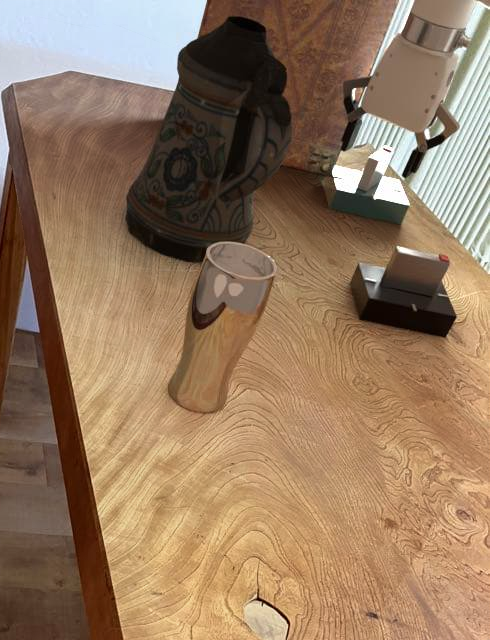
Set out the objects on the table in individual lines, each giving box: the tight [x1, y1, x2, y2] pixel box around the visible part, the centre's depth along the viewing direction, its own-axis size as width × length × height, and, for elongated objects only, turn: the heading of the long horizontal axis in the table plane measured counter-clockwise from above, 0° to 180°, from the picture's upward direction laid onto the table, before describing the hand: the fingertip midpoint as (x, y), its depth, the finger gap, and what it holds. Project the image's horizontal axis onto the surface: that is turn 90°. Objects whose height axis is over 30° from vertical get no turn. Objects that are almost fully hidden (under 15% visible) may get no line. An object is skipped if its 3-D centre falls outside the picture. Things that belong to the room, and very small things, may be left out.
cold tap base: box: [321, 165, 411, 225], centre depth 133 cm, size 11×11×3 cm
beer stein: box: [125, 16, 292, 264], centre depth 107 cm, size 16×19×25 cm
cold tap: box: [357, 145, 395, 191], centre depth 130 cm, size 6×2×5 cm, turn 146°
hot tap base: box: [349, 262, 458, 339], centre depth 110 cm, size 11×11×3 cm
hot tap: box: [381, 245, 451, 297], centre depth 108 cm, size 6×2×5 cm, turn 85°
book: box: [196, 0, 400, 176], centre depth 131 cm, size 25×9×30 cm, turn 82°
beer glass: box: [167, 241, 278, 414], centre depth 85 cm, size 7×7×15 cm
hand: (376, 162), depth 129 cm, fingers open, 9 cm apart
